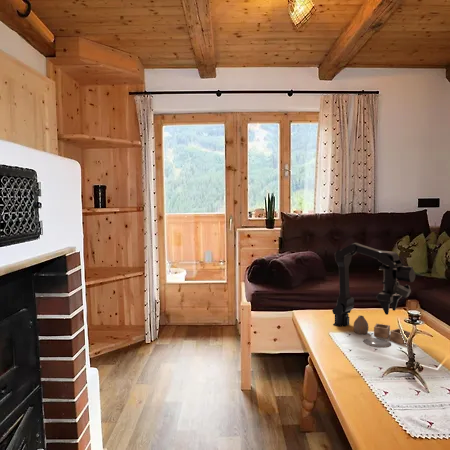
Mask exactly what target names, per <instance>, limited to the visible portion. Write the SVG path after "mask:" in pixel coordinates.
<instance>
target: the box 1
mask: <svg viewBox="0 0 450 450" xmlns="http://www.w3.org/2000/svg"><path fill="white" fill-rule="evenodd" d="M390 331H391V325H389V324H383V323H376V324H375V325H374V327H373V336H374V337H375V338H381V339H388V338H390Z"/></svg>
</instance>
